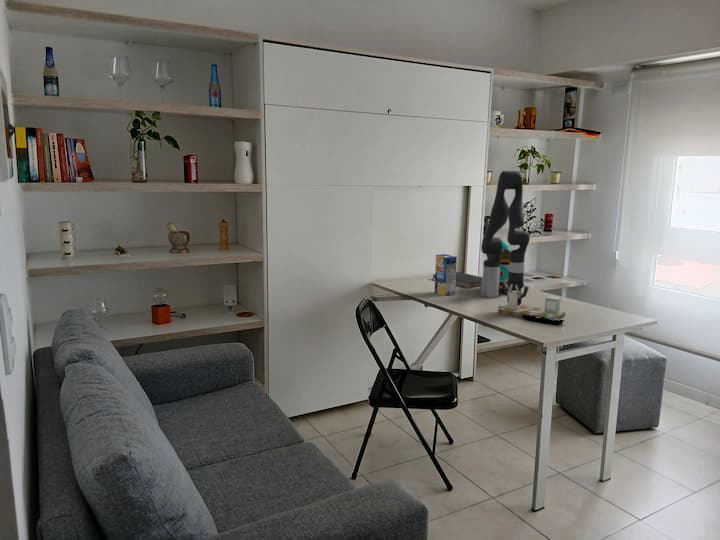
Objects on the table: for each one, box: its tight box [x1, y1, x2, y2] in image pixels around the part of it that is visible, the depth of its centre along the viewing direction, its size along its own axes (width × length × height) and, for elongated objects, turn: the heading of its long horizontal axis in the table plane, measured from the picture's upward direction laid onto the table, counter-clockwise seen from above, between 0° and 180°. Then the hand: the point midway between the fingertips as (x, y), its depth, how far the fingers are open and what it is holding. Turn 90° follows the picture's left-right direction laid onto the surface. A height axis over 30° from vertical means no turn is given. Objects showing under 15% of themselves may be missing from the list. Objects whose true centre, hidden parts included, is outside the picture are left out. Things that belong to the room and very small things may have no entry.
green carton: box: [544, 295, 562, 316], centre depth 269 cm, size 6×4×8 cm
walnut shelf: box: [497, 304, 566, 320], centre depth 275 cm, size 28×16×4 cm, turn 53°
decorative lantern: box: [485, 240, 511, 291], centre depth 326 cm, size 20×20×30 cm
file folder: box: [432, 271, 483, 289], centre depth 355 cm, size 33×4×24 cm
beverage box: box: [434, 253, 458, 297], centre depth 318 cm, size 7×11×22 cm, turn 26°
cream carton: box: [507, 291, 521, 309], centre depth 280 cm, size 6×4×8 cm
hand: (514, 304), depth 280 cm, fingers closed on cream carton, 4 cm apart
